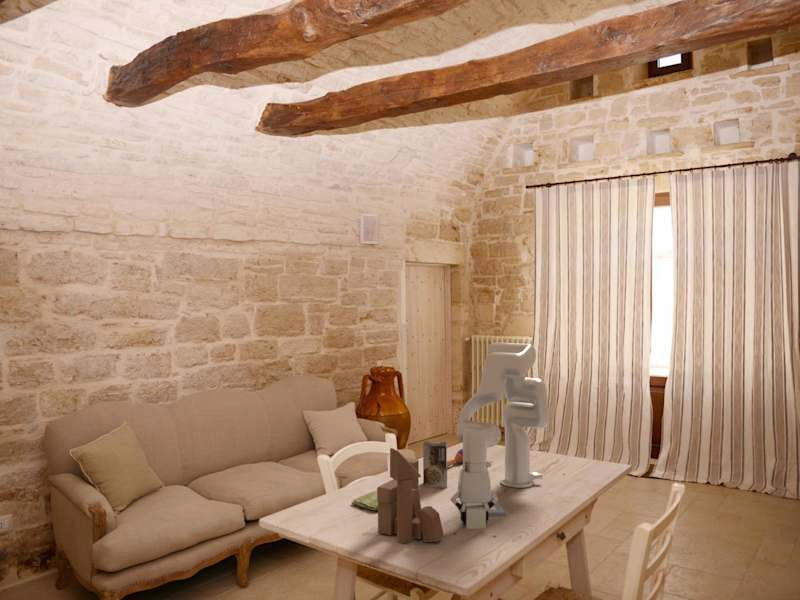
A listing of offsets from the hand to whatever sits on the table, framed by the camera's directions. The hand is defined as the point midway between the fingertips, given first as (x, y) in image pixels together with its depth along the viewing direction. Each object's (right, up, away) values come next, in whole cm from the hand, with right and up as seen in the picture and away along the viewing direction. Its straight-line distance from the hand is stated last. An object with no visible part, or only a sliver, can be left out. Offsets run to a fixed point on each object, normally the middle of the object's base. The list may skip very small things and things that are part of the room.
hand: (474, 522), depth 203 cm
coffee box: (-10, 0, +41) cm, 43 cm away
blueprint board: (+4, -1, +15) cm, 16 cm away
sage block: (0, -1, 0) cm, 1 cm away
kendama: (0, 0, +69) cm, 69 cm away
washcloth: (-30, -1, +21) cm, 37 cm away
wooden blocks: (-19, -1, -6) cm, 20 cm away
